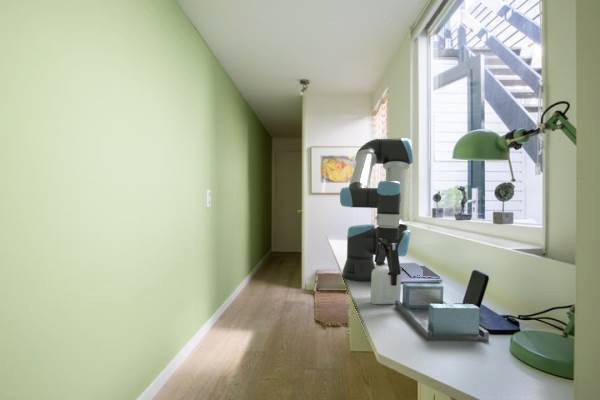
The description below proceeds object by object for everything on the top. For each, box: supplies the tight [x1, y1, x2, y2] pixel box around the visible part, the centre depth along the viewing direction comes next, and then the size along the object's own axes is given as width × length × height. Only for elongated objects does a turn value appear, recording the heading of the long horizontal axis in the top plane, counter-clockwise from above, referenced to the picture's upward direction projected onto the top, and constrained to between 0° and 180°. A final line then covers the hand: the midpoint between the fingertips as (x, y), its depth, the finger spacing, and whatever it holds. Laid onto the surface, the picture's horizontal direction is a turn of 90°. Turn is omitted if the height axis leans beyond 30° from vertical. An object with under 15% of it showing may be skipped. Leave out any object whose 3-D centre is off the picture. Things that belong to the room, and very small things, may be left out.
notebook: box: [417, 265, 441, 279], centre depth 154 cm, size 13×2×21 cm
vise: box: [394, 300, 490, 342], centre depth 93 cm, size 24×16×8 cm, turn 3°
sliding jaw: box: [401, 282, 444, 308], centre depth 103 cm, size 3×12×7 cm, turn 93°
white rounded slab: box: [370, 265, 402, 305], centre depth 109 cm, size 10×4×12 cm, turn 103°
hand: (385, 289), depth 109 cm, fingers open, 13 cm apart
